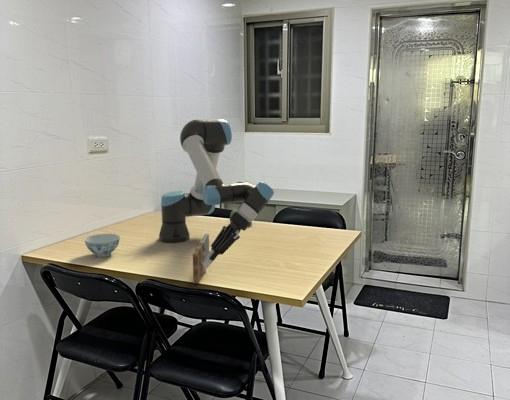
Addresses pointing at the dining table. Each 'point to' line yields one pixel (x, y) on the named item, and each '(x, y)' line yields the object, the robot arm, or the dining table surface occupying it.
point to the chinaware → (102, 244)
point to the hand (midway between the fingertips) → (204, 265)
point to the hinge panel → (206, 240)
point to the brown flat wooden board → (198, 261)
